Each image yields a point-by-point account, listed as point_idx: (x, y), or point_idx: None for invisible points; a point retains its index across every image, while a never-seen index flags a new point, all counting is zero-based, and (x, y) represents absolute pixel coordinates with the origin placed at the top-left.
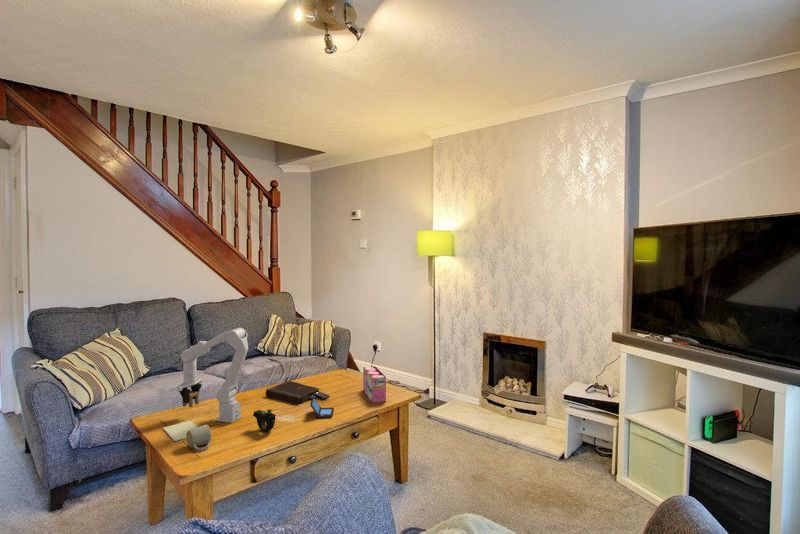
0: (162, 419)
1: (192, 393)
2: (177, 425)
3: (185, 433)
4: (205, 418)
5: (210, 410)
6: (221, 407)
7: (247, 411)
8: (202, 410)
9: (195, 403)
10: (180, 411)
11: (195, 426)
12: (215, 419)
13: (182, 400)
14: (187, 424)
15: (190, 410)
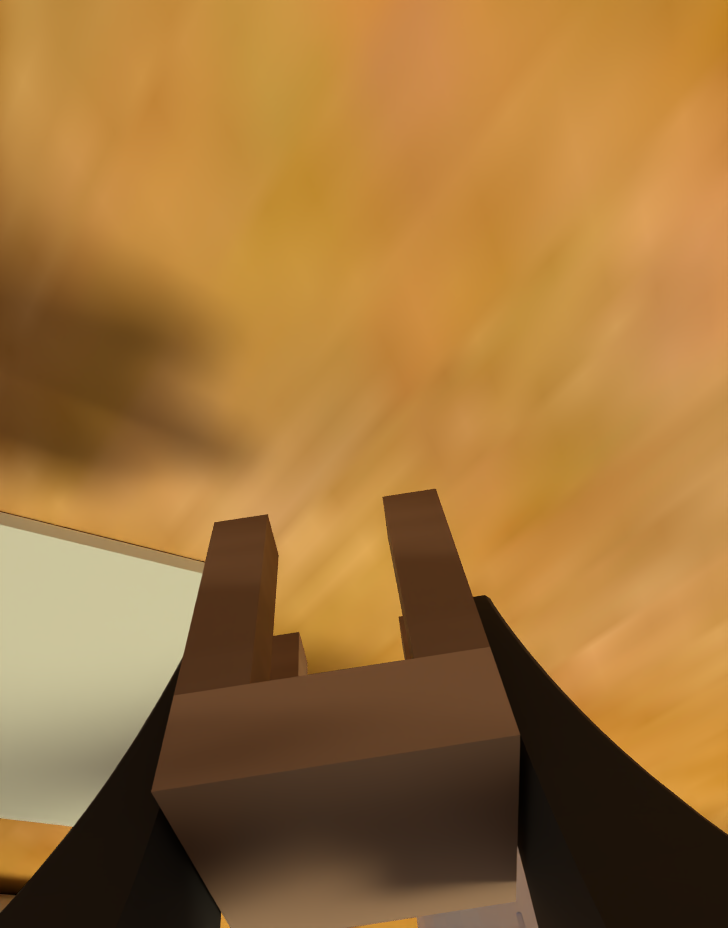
0: (12, 91)
1: (342, 910)
2: (41, 572)
3: (5, 764)
4: (394, 609)
5: (637, 467)
6: (417, 921)
7: (677, 750)
8: (614, 373)
9: (403, 642)
10: (470, 31)
11: None
12: None
13: (194, 617)
14: (140, 631)
15: (569, 187)
